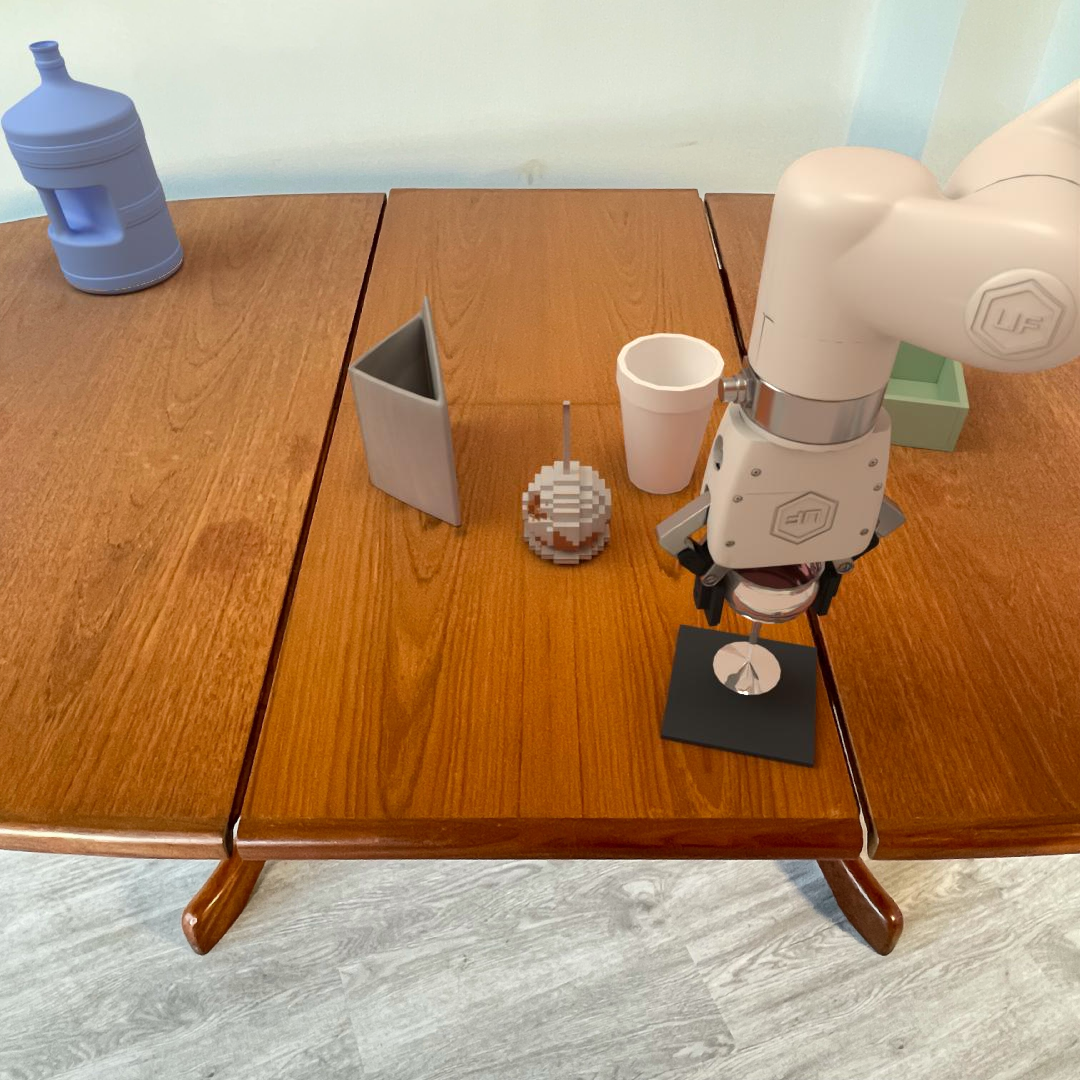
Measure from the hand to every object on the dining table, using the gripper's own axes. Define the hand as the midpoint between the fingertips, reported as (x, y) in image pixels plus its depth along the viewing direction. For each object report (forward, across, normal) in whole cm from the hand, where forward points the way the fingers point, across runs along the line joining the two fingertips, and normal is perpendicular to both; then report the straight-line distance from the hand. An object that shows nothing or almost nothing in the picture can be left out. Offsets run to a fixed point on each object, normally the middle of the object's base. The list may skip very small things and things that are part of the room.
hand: (761, 604), depth 61 cm
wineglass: (+7, 0, 0) cm, 7 cm away
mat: (+10, 0, 0) cm, 10 cm away
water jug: (+11, -64, +80) cm, 103 cm away
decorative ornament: (+10, -11, +19) cm, 24 cm away
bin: (+10, +25, +34) cm, 44 cm away
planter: (+11, -25, +30) cm, 40 cm away
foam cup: (+10, -1, +27) cm, 29 cm away
